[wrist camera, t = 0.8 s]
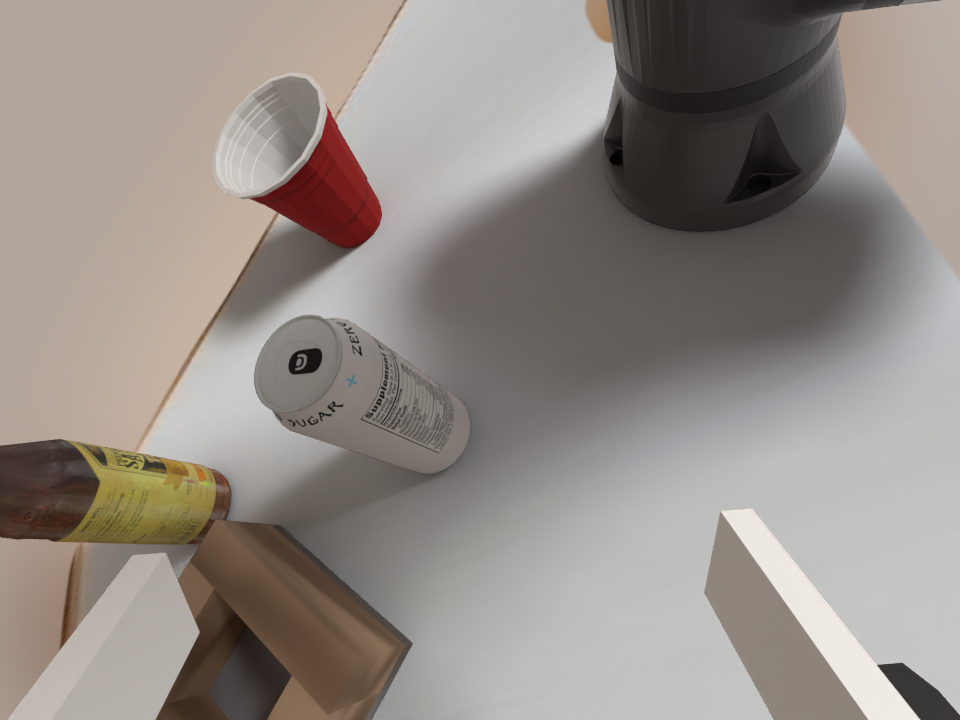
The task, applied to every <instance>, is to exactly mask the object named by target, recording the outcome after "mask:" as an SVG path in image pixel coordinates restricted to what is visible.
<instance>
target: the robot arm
mask: <svg viewBox="0 0 960 720" xmlns="http://www.w3.org/2000/svg"><path fill="white" fill-rule="evenodd" d="M930 1H938V0H607V7H608V14H609V20H610V27H611V34H612V41H613V48H614V54H615V61H616V69H617V73H616V78H615V82H614V87H613V91H612V96H611V100H610V105H609V109H608V114H607V118H606V122H605V127H604V132H603V155H604V161H605V166H606V171H607V175H608V179H609V182H610V185H611V187H612V189H613V191H614V192H615V194H616V195H617V197H618V198H619V199H620V201H621V202H622V203H623V204H624V205H625V206H626V207H627V208H629V209H630V210H631V211H632V212H634V213H635V214H637V215H638V216H640V217H642V218H644V219H646V220H648V221H650V222H652V223H655V224H658V225H661V226H665V227H668V228H673V229H679V230H688V231H712V230H721V229H728V228H733V227H738V226H741V225H745V224H749V223H752V222H755V221H757V220H760V219H763V218H765V217H767V216H769V215H772V214H774V213H776V212H777V211H779V210H781V209H783V208H785V207H786V206H788V205H789V204H791V203H792V202H794V201H795V200H797V199H798V198H799V197H800V196H802V195H803V194H804V193H805V192H806V191H807V190H808V189H809V188H811V187H812V186H813V184H814V183H815V182H816V181H817V180H818V179H819V177H820V176H821V175H822V174H823V172H824V171H825V169H826V168H827V166H828V164H829V162H830V160H831V158H832V156H833V153H834V151H835V148H836V145H837V142H838V139H839V137H840V134H841V131H842V128H843V124H844V119H845V111H846V97H845V89H844V82H843V75H842V67H841V60H840V53H839V46H838V38H837V31H838V27H839V23H840V20H841V16H842V13H844V12H851V11H859V10H866V9H874V8H881V7H889V6H898V5H903V4H913V3H920V2H921V3H922V2H930ZM704 593H705V595H706V597H707V598H708V600H709V602H710V604H711V606H712V608H713V609H714V611H715V613H716V615H717V617H718V619H719V620H720V622H721V624H722V626H723V628H724V630H725V631H726V633H727V635H728V637H729V639H730V640H731V642H732V644H733V646H734V648H735V650H736V651H737V653H738V655H739V657H740V659H741V661H742V662H743V664H744V666H745V668H746V670H747V672H748V673H749V675H750V677H751V679H752V681H753V682H754V684H755V686H756V688H757V690H758V692H759V693H760V695H761V697H762V699H763V701H764V703H765V704H766V706H767V708H768V710H769V712H770V714H771V715H772V717H773V719H774V720H960V715H959V714H958V713H957V712H956V710H955V709H954V708H953V707H952V706H951V705H950V704H949V702H948V701H947V700H946V699H945V698H944V697H943V696H942V694H941V693H940V692H939V691H938V690H937V689H935V688H934V687H933V686H932V685H930V684H929V683H928V682H926V681H925V680H924V679H923V678H921V677H920V676H919V675H917V674H916V673H915V672H913V671H912V670H911V669H910V668H908V667H907V666H906V665H904V664H903V663H895V664H883V665H876V664H875V662H874V661H873V660H872V659H871V657H870V656H869V655H868V654H867V652H866V651H865V650H864V649H863V647H862V646H861V645H860V644H859V642H858V641H857V640H856V639H855V637H854V636H853V635H852V634H851V632H850V631H849V630H848V629H847V627H846V626H845V625H844V624H843V622H842V621H841V620H840V619H839V617H838V616H837V615H836V614H835V612H834V611H833V610H832V609H831V607H830V606H829V605H828V604H827V602H826V601H825V600H824V598H823V597H822V596H821V595H820V593H819V592H818V591H817V590H816V588H815V587H814V586H813V585H812V583H811V582H810V581H809V580H808V578H807V577H806V576H805V575H804V573H803V572H802V571H801V570H800V568H799V567H798V566H797V565H796V563H795V562H794V561H793V560H792V558H791V557H790V556H789V555H788V553H787V552H786V551H785V550H784V548H783V547H782V546H781V545H780V543H779V542H778V541H777V540H776V538H775V537H774V536H773V535H772V533H771V532H770V531H769V530H768V528H767V527H766V526H765V524H764V523H763V522H762V521H761V519H760V518H759V517H758V516H757V514H756V513H755V512H754V511H753V509H742V510H729V511H720V516H719V521H718V526H717V531H716V536H715V541H714V546H713V551H712V556H711V561H710V567H709V572H708V577H707V582H706V587H705V592H704ZM199 633H200V631H199V629H198V627H197V624H196V622H195V620H194V617H193V615H192V613H191V610H190V608H189V606H188V603H187V601H186V599H185V596H184V594H183V592H182V589H181V587H180V585H179V582H178V580H177V578H176V575H175V573H174V571H173V568H172V566H171V564H170V561H169V559H168V557H167V554H166V553H153V554H139V555H132V556H131V558H130V559H129V560H128V561H127V563H126V564H125V565H124V567H123V568H122V569H121V571H120V572H119V573H118V575H117V576H116V577H115V579H114V580H113V581H112V583H111V584H110V585H109V586H108V588H107V589H106V590H105V592H104V593H103V594H102V596H101V597H100V598H99V600H98V601H97V602H96V604H95V605H94V606H93V607H92V609H91V610H90V611H89V613H88V614H87V615H86V617H85V618H84V619H83V621H82V622H81V623H80V625H79V626H78V627H77V628H76V630H75V631H74V632H73V634H72V635H71V636H70V638H69V639H68V640H67V642H66V643H65V644H64V646H63V647H62V648H61V650H60V651H59V652H58V653H57V655H56V656H55V657H54V659H53V660H52V661H51V663H50V664H49V665H48V667H47V668H46V669H45V671H44V672H43V673H42V675H41V676H40V677H39V678H38V680H37V681H36V682H35V684H34V685H33V686H32V688H31V689H30V690H29V692H28V693H27V694H26V696H25V697H24V698H23V700H22V701H21V702H20V704H19V705H18V706H17V707H16V709H15V710H14V711H13V713H12V714H11V715H10V717H9V718H8V719H7V720H156V718H157V716H158V714H159V712H160V710H161V708H162V706H163V704H164V702H165V700H166V698H167V696H168V694H169V692H170V690H171V688H172V686H173V684H174V682H175V680H176V678H177V676H178V674H179V672H180V670H181V668H182V666H183V665H184V663H185V661H186V659H187V657H188V655H189V653H190V651H191V649H192V647H193V645H194V643H195V641H196V639H197V637H198V635H199Z"/></svg>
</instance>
